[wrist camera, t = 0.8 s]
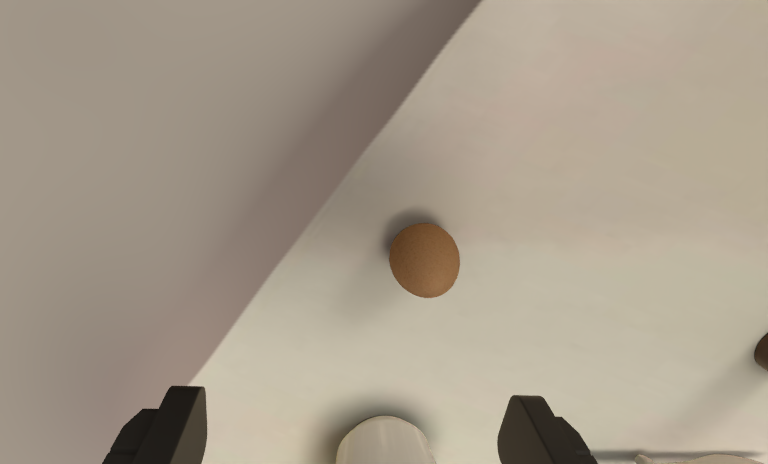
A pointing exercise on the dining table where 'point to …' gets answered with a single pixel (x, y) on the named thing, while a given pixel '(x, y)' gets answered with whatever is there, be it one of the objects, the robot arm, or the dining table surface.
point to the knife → (703, 460)
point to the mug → (384, 443)
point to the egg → (424, 260)
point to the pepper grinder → (762, 353)
